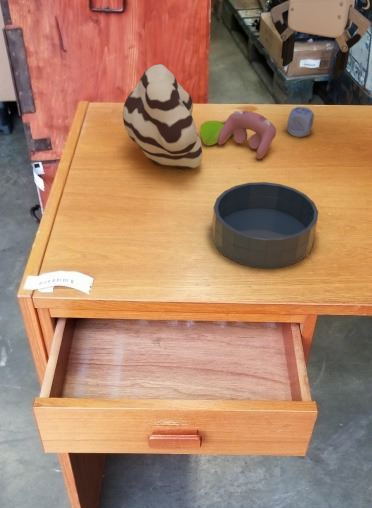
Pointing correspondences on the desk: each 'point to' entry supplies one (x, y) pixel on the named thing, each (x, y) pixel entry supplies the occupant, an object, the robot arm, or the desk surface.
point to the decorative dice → (300, 121)
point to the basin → (264, 224)
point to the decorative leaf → (211, 132)
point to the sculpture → (163, 120)
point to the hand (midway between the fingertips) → (312, 68)
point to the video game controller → (250, 121)
